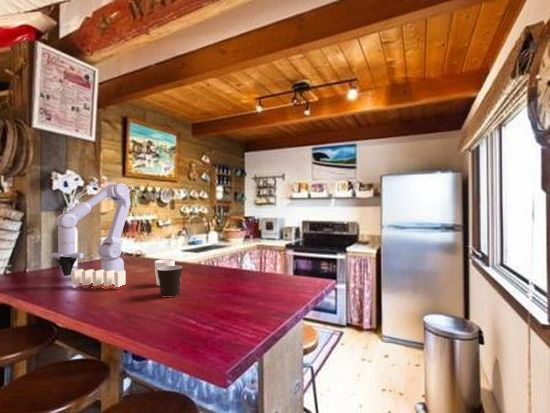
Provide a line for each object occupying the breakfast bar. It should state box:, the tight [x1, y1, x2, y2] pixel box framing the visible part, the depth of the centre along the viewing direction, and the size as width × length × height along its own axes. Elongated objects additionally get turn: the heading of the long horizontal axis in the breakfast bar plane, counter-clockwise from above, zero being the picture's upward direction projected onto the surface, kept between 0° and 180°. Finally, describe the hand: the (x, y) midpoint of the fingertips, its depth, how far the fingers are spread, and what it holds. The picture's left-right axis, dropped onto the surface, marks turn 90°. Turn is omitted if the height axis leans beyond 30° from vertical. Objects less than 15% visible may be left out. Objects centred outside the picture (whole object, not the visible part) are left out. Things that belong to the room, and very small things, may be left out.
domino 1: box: [70, 268, 85, 285], centre depth 126 cm, size 4×2×7 cm, turn 167°
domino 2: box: [82, 268, 95, 285], centre depth 125 cm, size 4×2×7 cm, turn 168°
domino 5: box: [114, 269, 127, 288], centre depth 122 cm, size 4×2×7 cm, turn 168°
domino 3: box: [93, 269, 104, 286], centre depth 124 cm, size 4×2×7 cm, turn 168°
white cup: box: [154, 258, 176, 286], centre depth 127 cm, size 8×8×10 cm
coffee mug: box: [157, 265, 183, 297], centre depth 113 cm, size 12×9×10 cm
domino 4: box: [103, 270, 115, 286], centre depth 123 cm, size 4×2×7 cm, turn 168°
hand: (67, 275), depth 127 cm, fingers closed
